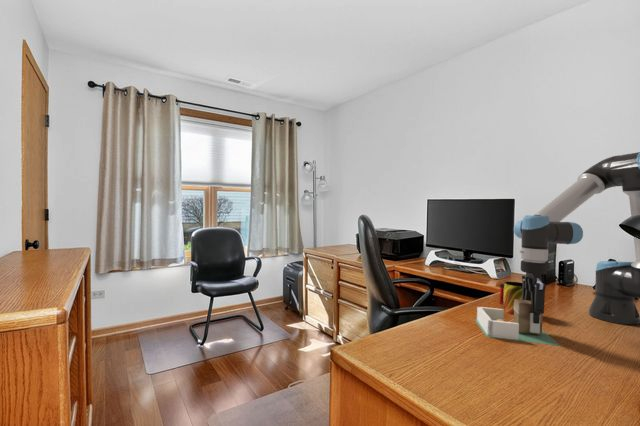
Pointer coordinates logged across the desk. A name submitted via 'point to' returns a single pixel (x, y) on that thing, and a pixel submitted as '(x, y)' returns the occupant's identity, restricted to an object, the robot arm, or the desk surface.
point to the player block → (524, 316)
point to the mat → (528, 337)
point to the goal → (496, 323)
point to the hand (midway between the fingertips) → (531, 329)
